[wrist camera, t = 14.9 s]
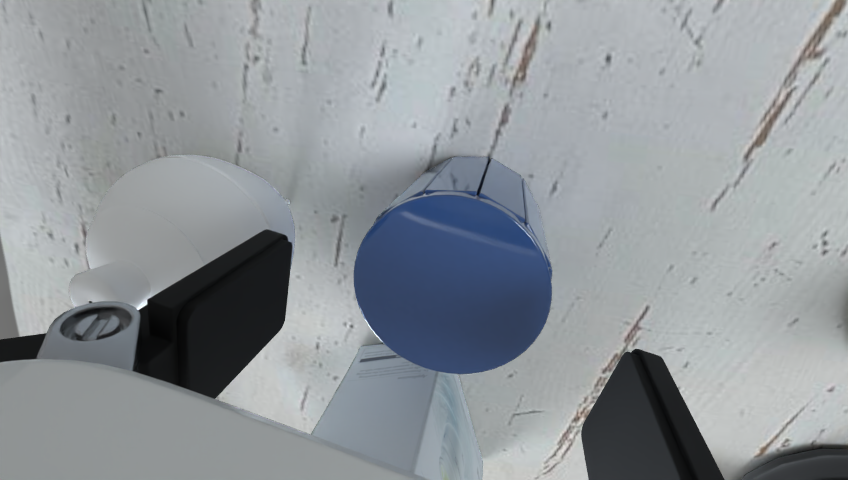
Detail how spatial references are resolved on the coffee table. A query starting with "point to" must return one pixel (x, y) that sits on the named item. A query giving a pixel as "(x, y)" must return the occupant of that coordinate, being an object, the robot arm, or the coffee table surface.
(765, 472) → the figurine
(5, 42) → the coffee table surface
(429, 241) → the cup
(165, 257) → the spinning top
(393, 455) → the cosmetics box
